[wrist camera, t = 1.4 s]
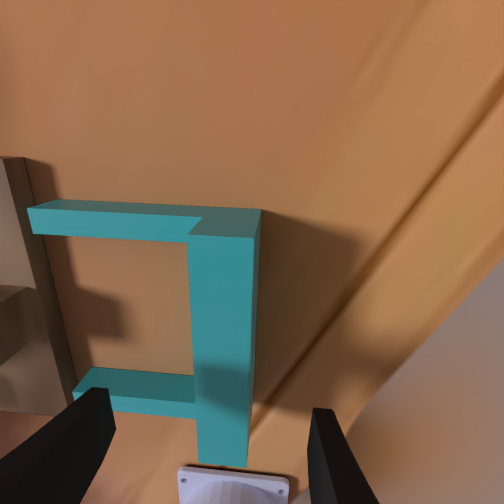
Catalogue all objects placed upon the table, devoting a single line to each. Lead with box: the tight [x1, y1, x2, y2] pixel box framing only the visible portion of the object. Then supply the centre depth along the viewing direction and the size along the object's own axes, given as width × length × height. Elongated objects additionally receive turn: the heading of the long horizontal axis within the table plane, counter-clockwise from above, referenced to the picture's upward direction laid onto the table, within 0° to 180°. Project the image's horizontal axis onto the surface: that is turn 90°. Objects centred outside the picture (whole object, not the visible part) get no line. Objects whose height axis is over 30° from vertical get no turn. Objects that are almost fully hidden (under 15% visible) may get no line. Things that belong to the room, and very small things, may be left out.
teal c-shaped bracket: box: [27, 199, 261, 468], centre depth 15 cm, size 10×12×4 cm
